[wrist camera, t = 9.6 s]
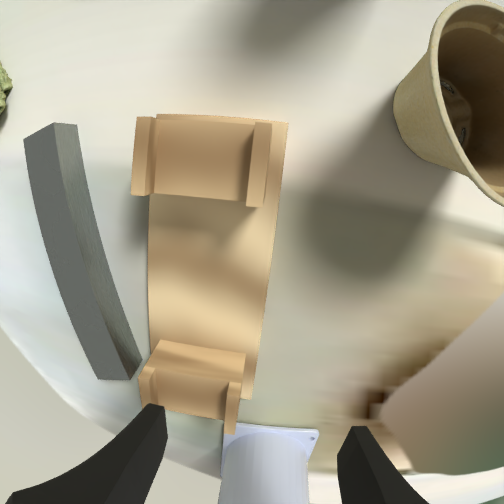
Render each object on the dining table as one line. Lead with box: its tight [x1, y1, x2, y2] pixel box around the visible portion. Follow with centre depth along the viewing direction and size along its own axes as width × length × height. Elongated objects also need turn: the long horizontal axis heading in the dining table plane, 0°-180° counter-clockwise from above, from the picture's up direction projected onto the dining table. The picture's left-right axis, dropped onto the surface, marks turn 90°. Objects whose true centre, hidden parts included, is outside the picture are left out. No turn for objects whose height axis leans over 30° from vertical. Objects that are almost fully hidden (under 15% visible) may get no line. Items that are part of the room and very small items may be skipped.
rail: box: [23, 123, 143, 380], centre depth 19 cm, size 18×3×3 cm, turn 11°
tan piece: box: [131, 114, 288, 435], centre depth 17 cm, size 19×8×5 cm, turn 174°
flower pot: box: [393, 0, 504, 207], centre depth 12 cm, size 9×9×9 cm
